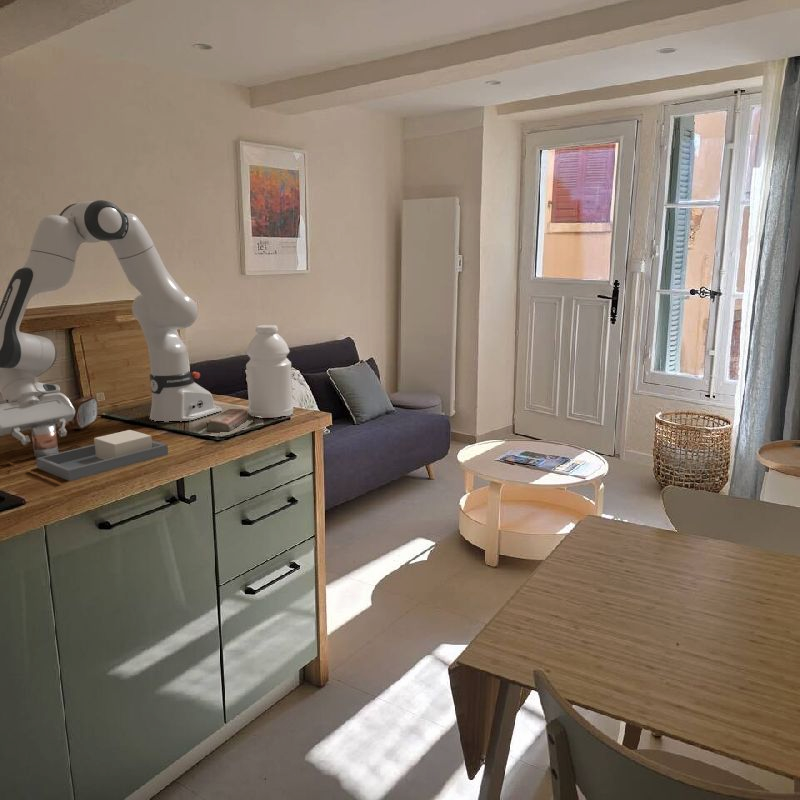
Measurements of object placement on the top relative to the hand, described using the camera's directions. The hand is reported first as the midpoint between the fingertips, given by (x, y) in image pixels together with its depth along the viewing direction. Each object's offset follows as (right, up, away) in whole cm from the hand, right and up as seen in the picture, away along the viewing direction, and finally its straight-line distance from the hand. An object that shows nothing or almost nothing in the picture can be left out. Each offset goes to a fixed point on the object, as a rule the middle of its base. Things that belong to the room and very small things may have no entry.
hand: (45, 439), depth 187 cm
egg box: (+21, -4, -1) cm, 21 cm away
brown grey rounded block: (-4, +2, +32) cm, 32 cm away
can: (0, -4, +1) cm, 5 cm away
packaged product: (+41, +1, +25) cm, 48 cm away
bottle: (+51, +5, +42) cm, 66 cm away
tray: (+17, -6, -5) cm, 19 cm away
